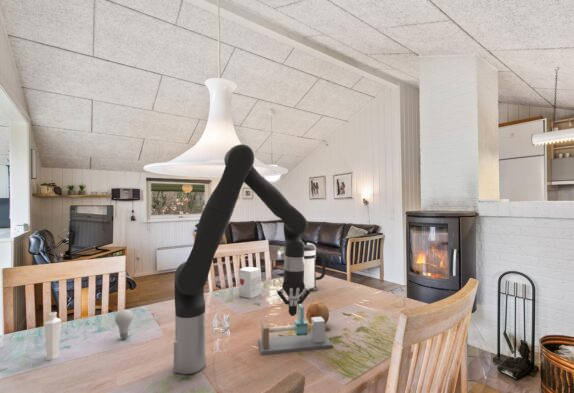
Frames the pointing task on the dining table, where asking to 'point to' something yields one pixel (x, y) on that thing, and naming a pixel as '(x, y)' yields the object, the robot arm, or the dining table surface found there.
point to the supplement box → (249, 282)
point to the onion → (317, 311)
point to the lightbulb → (124, 322)
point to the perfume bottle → (52, 336)
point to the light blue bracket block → (301, 322)
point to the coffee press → (311, 265)
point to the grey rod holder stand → (294, 338)
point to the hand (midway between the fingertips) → (292, 315)
